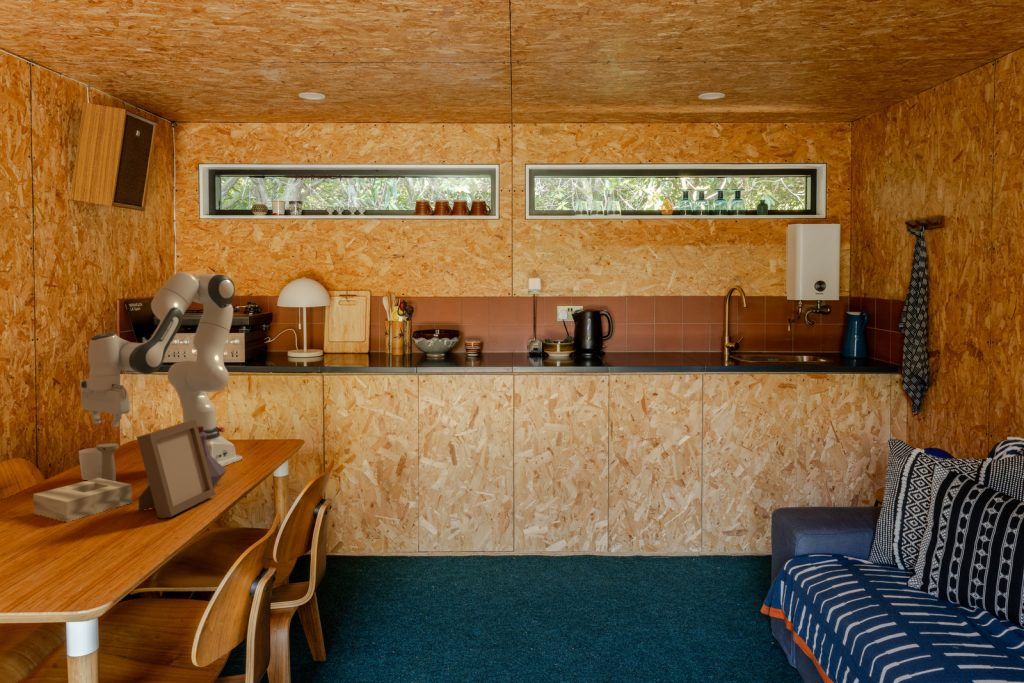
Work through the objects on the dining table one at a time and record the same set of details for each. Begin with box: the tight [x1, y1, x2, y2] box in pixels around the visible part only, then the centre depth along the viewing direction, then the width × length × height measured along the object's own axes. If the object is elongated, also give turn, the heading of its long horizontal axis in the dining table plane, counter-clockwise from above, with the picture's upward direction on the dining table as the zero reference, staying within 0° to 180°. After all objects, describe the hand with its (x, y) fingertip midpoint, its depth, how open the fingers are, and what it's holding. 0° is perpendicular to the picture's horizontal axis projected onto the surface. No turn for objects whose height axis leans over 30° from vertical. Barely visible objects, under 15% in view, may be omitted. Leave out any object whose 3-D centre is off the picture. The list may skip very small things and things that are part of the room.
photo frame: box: [136, 420, 216, 519], centre depth 220 cm, size 15×22×25 cm
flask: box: [198, 426, 228, 487], centre depth 244 cm, size 16×16×20 cm
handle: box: [95, 442, 120, 482], centre depth 238 cm, size 5×6×15 cm
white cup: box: [78, 447, 102, 481], centre depth 252 cm, size 8×8×10 cm
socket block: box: [32, 478, 133, 523], centre depth 219 cm, size 20×16×6 cm
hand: (106, 425), depth 237 cm, fingers open, 8 cm apart
